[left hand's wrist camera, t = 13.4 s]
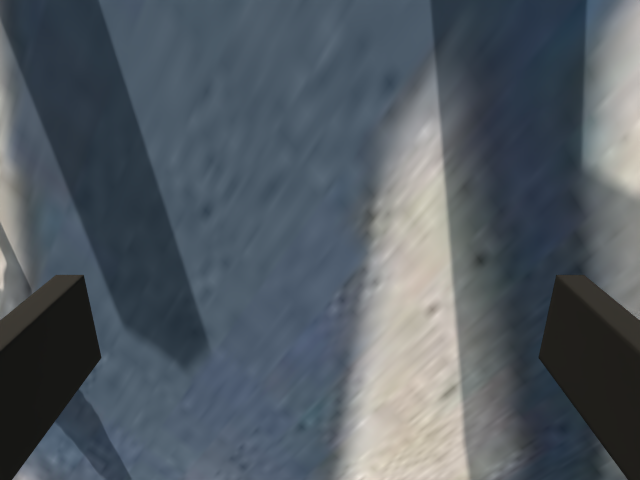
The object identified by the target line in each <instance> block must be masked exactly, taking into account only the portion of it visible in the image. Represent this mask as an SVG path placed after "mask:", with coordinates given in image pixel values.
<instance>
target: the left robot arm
mask: <svg viewBox="0 0 640 480" xmlns="http://www.w3.org/2000/svg"><path fill="white" fill-rule="evenodd" d="M100 359H101V354H100V349H99V344H98V340H97V335H96V330H95V326H94V321H93V316H92V312H91V307H90V302H89V298H88V293H87V288H86V284H85V279H84V275H56V276H54V277H53V278H52V279H51V280H49V281H48V282H47V283H46V284H44V285H43V286H42V287H41V288H40V289H38V290H37V291H36V292H35V293H33V294H32V295H31V296H30V297H29V298H27V299H26V300H25V301H24V302H22V303H21V304H20V305H19V306H18V307H16V308H15V309H14V310H13V311H11V312H10V313H9V314H8V315H7V316H5V317H4V318H3V319H2V320H0V480H12V479H13V478H14V476H15V475H16V474H17V472H18V471H19V469H20V468H21V467H22V465H23V464H24V463H25V461H26V460H27V459H28V457H29V456H30V454H31V453H32V452H33V450H34V449H35V448H36V446H37V445H38V444H39V442H40V441H41V439H42V438H43V437H44V435H45V434H46V433H47V431H48V430H49V429H50V427H51V426H52V424H53V423H54V422H55V420H56V419H57V418H58V416H59V415H60V414H61V412H62V411H63V409H64V408H65V407H66V405H67V404H68V403H69V401H70V400H71V399H72V397H73V396H74V394H75V393H76V392H77V390H78V389H79V388H80V386H81V385H82V383H83V382H84V381H85V379H86V378H87V377H88V375H89V374H90V373H91V371H92V370H93V368H94V367H95V366H96V364H97V363H98V362H99V360H100ZM539 359H540V360H541V362H542V363H543V364H544V366H545V367H546V368H547V370H548V371H549V373H550V374H551V375H552V377H553V378H554V379H555V381H556V382H557V383H558V385H559V386H560V388H561V389H562V390H563V392H564V393H565V394H566V396H567V397H568V399H569V400H570V401H571V403H572V404H573V405H574V407H575V408H576V409H577V411H578V412H579V414H580V415H581V416H582V418H583V419H584V420H585V422H586V423H587V424H588V426H589V427H590V429H591V430H592V431H593V433H594V434H595V435H596V437H597V438H598V439H599V441H600V442H601V444H602V445H603V446H604V448H605V449H606V450H607V452H608V453H609V454H610V456H611V457H612V459H613V460H614V461H615V463H616V464H617V465H618V467H619V468H620V469H621V471H622V472H623V474H624V475H625V476H626V478H627V479H628V480H640V320H638V319H637V318H636V317H635V316H633V315H632V314H631V313H630V312H629V311H627V310H626V309H625V308H624V307H622V306H621V305H620V304H619V303H618V302H616V301H615V300H614V299H613V298H611V297H610V296H609V295H608V294H607V293H605V292H604V291H603V290H602V289H600V288H599V287H598V286H597V285H596V284H594V283H593V282H592V281H591V280H589V279H588V278H587V277H586V276H584V275H556V279H555V284H554V288H553V293H552V298H551V302H550V307H549V312H548V316H547V321H546V326H545V330H544V335H543V340H542V344H541V349H540V354H539Z"/></svg>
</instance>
